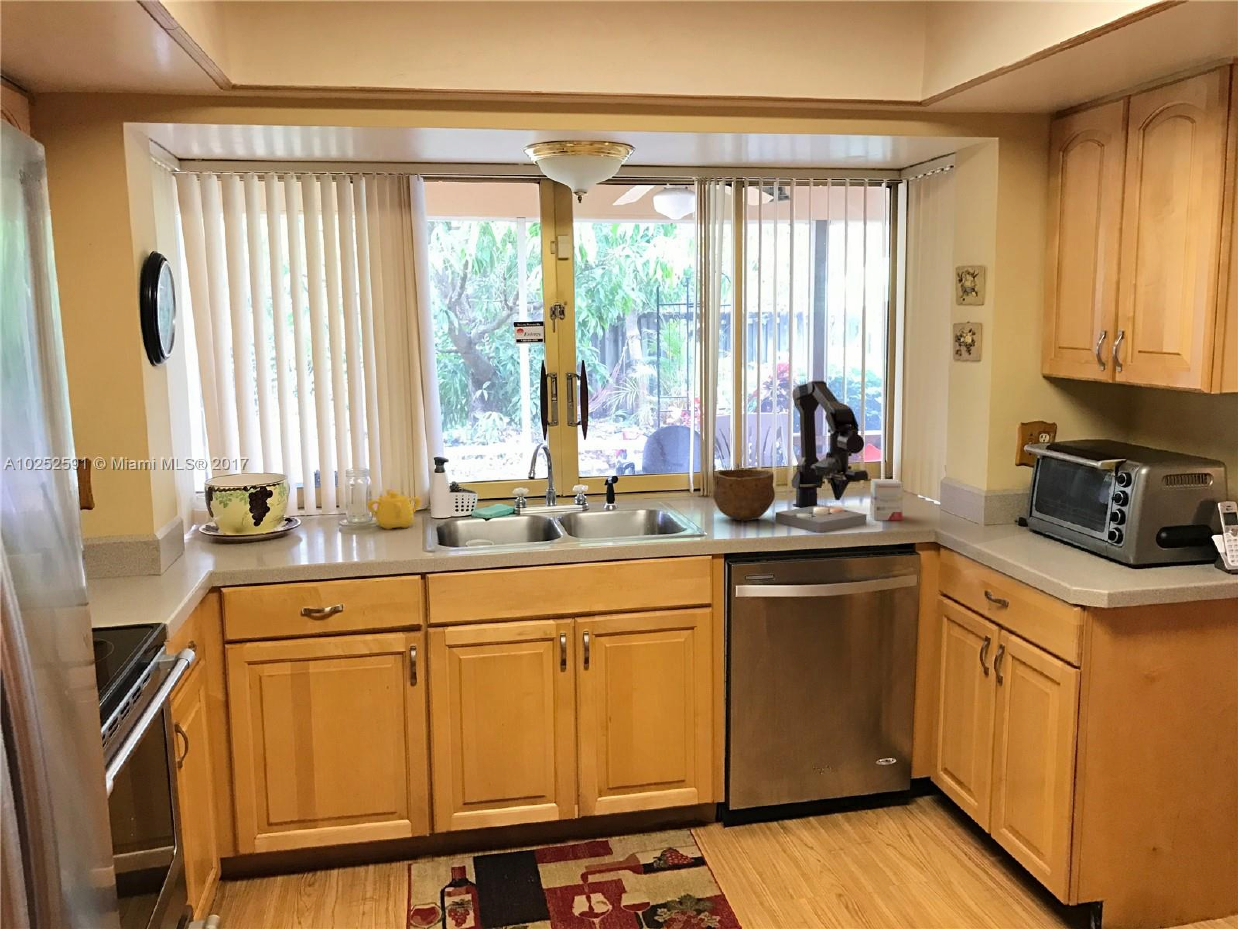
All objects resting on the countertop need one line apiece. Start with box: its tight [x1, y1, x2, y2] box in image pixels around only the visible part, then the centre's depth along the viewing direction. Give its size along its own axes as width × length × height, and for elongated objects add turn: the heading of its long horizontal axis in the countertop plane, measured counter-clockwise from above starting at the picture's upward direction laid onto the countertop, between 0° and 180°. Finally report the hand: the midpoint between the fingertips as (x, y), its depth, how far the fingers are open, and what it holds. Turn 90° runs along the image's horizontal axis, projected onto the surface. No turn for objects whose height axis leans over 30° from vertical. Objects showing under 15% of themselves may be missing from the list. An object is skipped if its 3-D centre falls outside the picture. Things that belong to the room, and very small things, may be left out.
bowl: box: [712, 468, 776, 521], centre depth 297 cm, size 19×19×15 cm
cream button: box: [813, 507, 828, 516], centre depth 293 cm, size 4×4×3 cm
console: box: [774, 504, 867, 533], centre depth 293 cm, size 18×20×3 cm
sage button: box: [797, 513, 812, 519], centre depth 289 cm, size 4×4×3 cm
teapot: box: [366, 489, 422, 530], centre depth 290 cm, size 14×13×10 cm
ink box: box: [869, 478, 904, 521], centre depth 300 cm, size 9×9×12 cm
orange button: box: [830, 507, 846, 513], centre depth 297 cm, size 4×4×3 cm
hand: (837, 500), depth 296 cm, fingers closed
